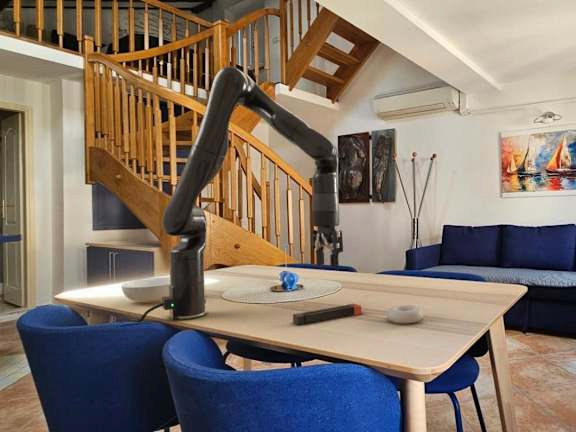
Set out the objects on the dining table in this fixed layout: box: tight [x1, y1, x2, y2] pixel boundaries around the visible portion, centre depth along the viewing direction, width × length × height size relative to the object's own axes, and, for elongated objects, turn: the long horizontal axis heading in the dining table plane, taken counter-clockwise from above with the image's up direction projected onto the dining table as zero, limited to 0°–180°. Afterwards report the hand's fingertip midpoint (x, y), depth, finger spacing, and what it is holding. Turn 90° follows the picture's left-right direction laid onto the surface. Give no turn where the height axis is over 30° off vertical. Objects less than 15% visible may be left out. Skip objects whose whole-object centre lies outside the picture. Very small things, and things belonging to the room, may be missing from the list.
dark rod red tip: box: [292, 302, 362, 327], centre depth 119 cm, size 20×4×2 cm, turn 126°
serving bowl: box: [121, 276, 170, 304], centre depth 149 cm, size 21×21×7 cm
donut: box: [386, 304, 424, 325], centre depth 115 cm, size 10×4×10 cm
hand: (327, 266), depth 119 cm, fingers open, 8 cm apart
